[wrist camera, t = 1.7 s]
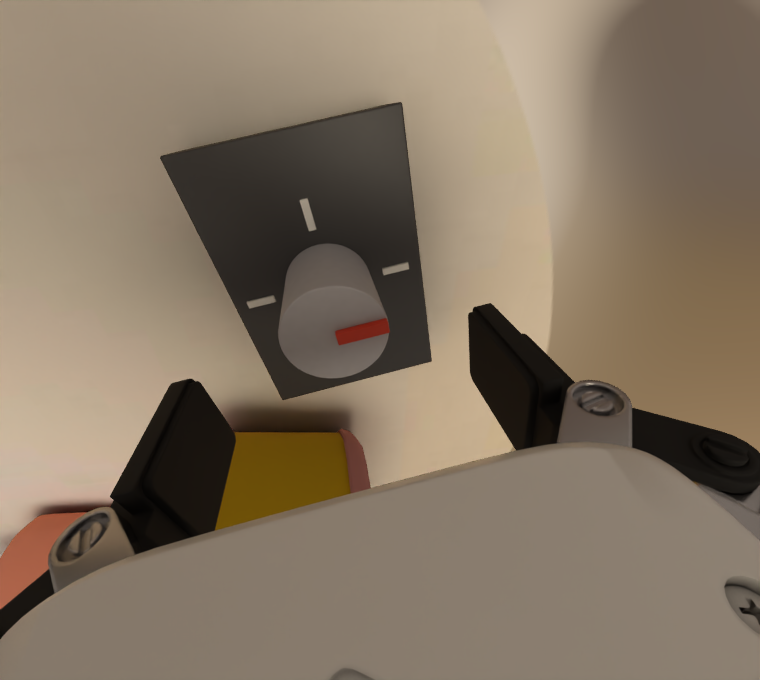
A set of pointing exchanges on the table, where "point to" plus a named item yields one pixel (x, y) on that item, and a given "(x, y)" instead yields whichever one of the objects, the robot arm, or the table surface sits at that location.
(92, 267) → the table surface
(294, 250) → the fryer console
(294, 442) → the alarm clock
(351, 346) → the timer dial
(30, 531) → the teapot
